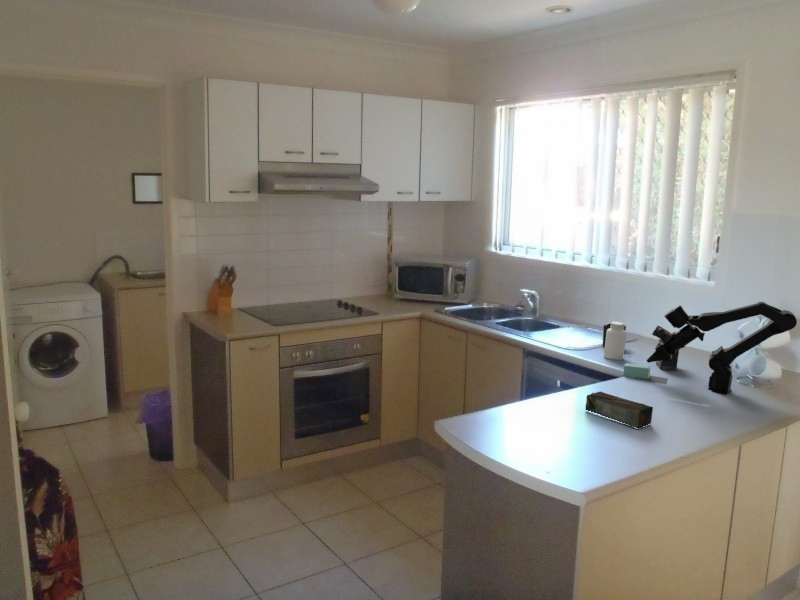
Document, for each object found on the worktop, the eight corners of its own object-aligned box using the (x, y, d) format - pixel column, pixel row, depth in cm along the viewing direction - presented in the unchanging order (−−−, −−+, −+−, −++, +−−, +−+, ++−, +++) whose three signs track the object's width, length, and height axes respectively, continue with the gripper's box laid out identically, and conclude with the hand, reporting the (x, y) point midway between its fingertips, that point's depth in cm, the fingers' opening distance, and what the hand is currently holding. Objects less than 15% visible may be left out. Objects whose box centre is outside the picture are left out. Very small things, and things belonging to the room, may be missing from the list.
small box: (677, 372, 261) (680, 346, 259) (659, 370, 262) (663, 345, 260) (672, 365, 271) (675, 340, 269) (655, 363, 273) (658, 338, 271)
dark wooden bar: (598, 407, 218) (600, 388, 217) (652, 425, 204) (655, 405, 203) (584, 412, 213) (586, 393, 212) (638, 431, 199) (641, 410, 198)
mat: (668, 379, 251) (668, 378, 251) (665, 385, 244) (665, 383, 244) (637, 374, 256) (637, 373, 256) (634, 379, 249) (634, 378, 249)
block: (650, 366, 252) (625, 363, 256) (649, 368, 248) (624, 365, 252) (649, 376, 252) (625, 373, 256) (648, 378, 249) (623, 375, 253)
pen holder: (599, 344, 301) (601, 322, 299) (620, 345, 300) (622, 323, 299) (604, 349, 292) (607, 327, 290) (626, 350, 291) (628, 328, 289)
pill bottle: (625, 361, 274) (628, 325, 271) (605, 359, 275) (608, 324, 273) (621, 356, 282) (625, 321, 279) (602, 354, 283) (605, 320, 280)
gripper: (670, 315, 252) (637, 339, 260) (664, 324, 236) (629, 349, 243) (690, 339, 250) (656, 362, 257) (685, 349, 234) (649, 374, 241)
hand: (647, 361), depth 250 cm, fingers closed
